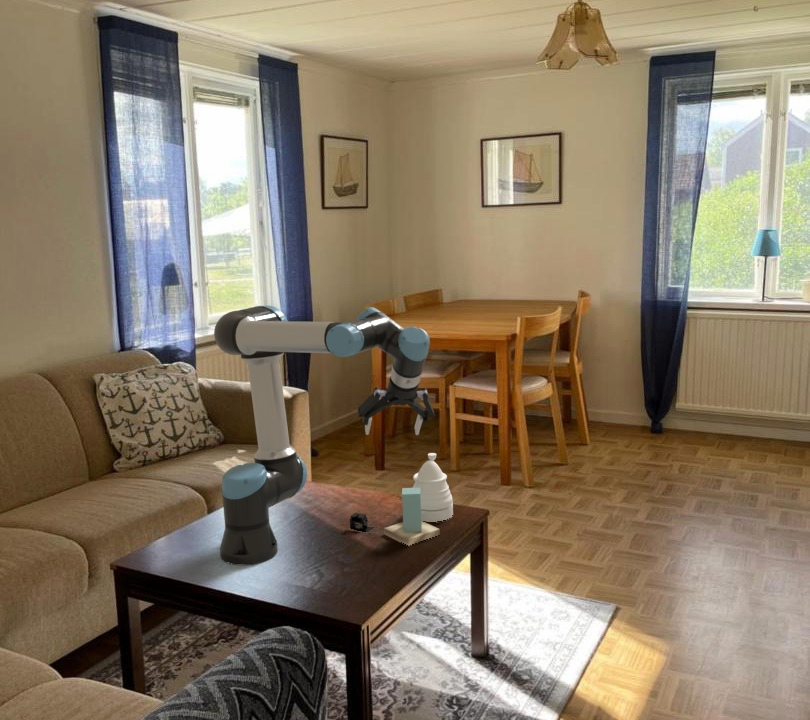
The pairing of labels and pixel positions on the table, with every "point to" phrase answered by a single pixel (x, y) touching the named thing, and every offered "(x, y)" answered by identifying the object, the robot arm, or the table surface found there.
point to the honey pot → (433, 492)
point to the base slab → (411, 533)
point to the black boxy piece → (360, 522)
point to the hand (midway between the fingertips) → (391, 430)
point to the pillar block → (411, 510)
